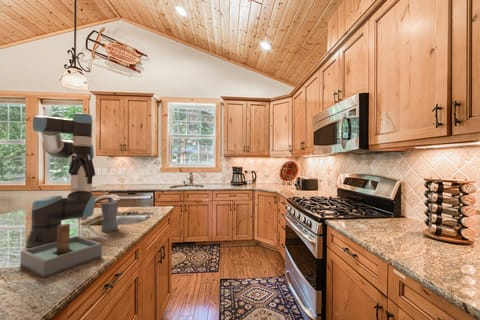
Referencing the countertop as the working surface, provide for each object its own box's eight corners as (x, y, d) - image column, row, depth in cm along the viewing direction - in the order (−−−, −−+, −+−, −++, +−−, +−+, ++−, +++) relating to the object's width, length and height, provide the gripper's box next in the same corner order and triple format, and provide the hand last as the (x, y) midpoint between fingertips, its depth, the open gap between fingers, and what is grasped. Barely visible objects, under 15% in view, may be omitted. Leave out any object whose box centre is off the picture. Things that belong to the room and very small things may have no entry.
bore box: (20, 265, 86) (20, 250, 86) (76, 248, 104) (77, 236, 104) (43, 278, 77) (44, 261, 77) (101, 257, 94) (101, 243, 95)
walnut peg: (54, 259, 89) (55, 226, 90) (65, 256, 93) (66, 223, 93) (59, 261, 87) (60, 227, 88) (70, 258, 91) (71, 225, 91)
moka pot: (97, 234, 124) (98, 200, 124) (102, 227, 138) (103, 196, 138) (116, 232, 127) (117, 199, 128) (119, 225, 142) (120, 195, 142)
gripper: (60, 145, 106) (59, 187, 106) (86, 144, 94) (85, 193, 94) (78, 146, 113) (77, 186, 113) (104, 146, 101) (103, 191, 101)
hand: (81, 189), depth 104 cm, fingers open, 13 cm apart
